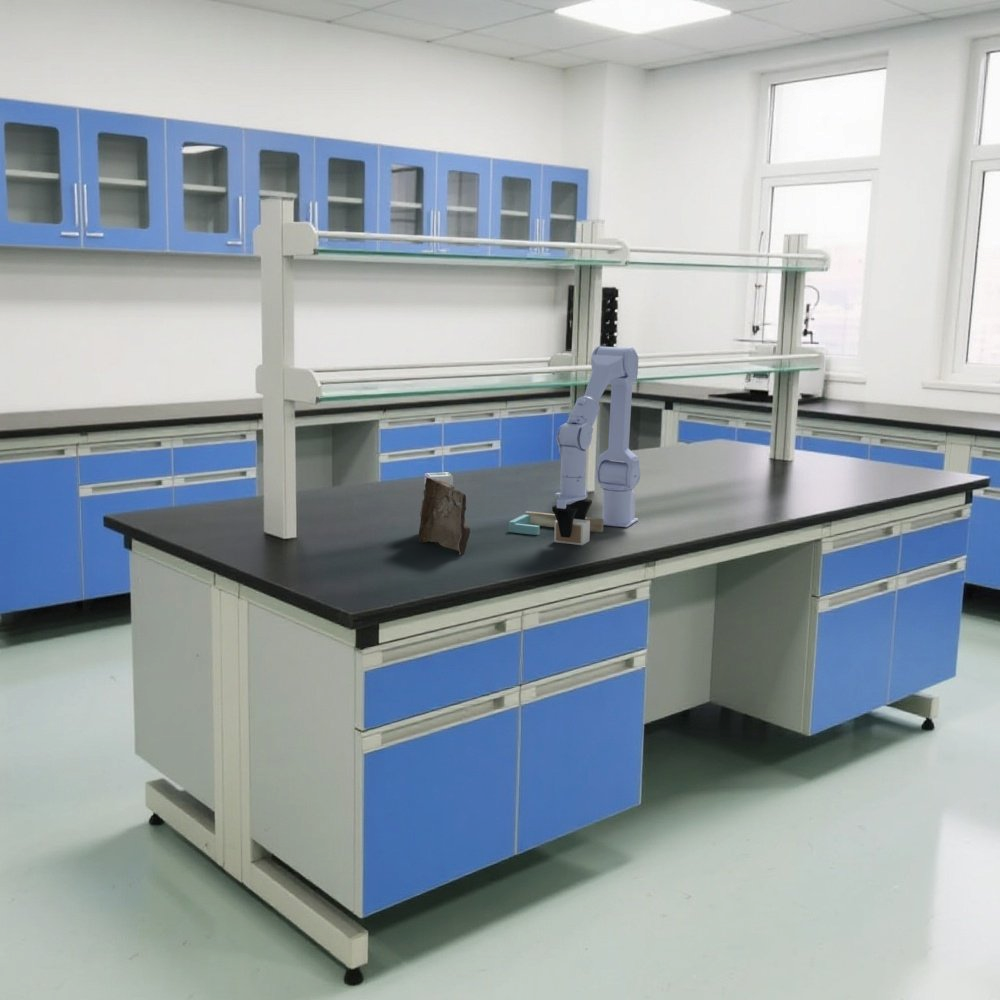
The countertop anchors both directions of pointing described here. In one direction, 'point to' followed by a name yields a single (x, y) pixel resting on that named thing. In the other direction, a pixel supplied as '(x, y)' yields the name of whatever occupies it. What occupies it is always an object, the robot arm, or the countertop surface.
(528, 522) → the teal l-shaped block
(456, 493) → the mineral sample
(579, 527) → the cabinet block
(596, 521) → the wall board
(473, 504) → the countertop surface
